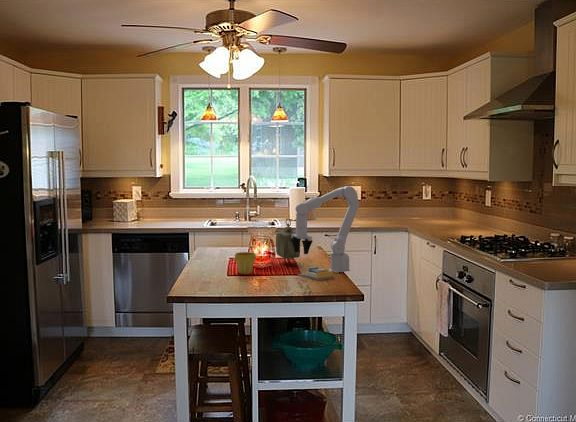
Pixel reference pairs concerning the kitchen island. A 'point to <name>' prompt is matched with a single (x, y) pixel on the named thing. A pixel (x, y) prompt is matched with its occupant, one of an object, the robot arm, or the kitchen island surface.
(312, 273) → the loading dock
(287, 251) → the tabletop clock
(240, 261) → the plant pot
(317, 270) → the trolley
